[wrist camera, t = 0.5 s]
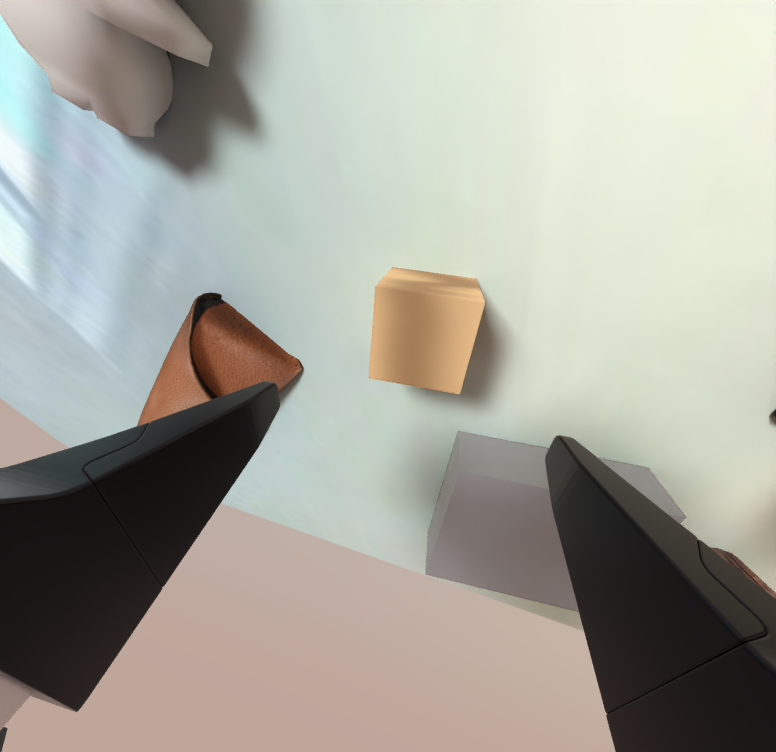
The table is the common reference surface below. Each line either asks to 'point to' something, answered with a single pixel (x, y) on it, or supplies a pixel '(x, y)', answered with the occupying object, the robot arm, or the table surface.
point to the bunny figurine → (109, 53)
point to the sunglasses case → (215, 360)
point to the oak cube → (424, 328)
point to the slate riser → (510, 520)
